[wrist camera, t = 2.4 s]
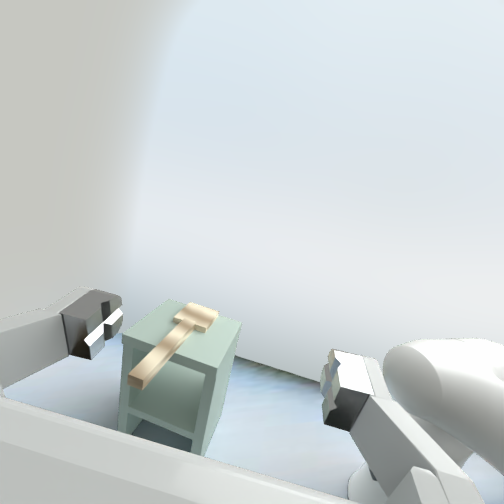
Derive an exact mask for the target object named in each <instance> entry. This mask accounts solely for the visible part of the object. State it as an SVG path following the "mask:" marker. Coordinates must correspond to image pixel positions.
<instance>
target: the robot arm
mask: <svg viewBox="0 0 504 504" xmlns="http://www.w3.org/2000/svg"><path fill="white" fill-rule="evenodd" d="M121 305H122V300H121V297H120V296H118V295H115V294H111V293H107V292H104V291H100V290H97V289H92V288H89V287H85V286H82V287H78V288H77V289H75V290H73V291H72V292H70V293H69V294H67V295H66V296H64V297H63V298H61V299H59V300H58V301H56V302H55V303H53V304H52V305H50V306H49V307H47V308H45V309H44V310H43V309H36V310H33V311H29V312H26V313H21V314H17V315H14V316H10V317H6V318H2V319H0V504H485V503H484V501H483V500H482V498H481V496H480V494H479V492H478V490H477V488H476V486H475V484H474V482H473V481H472V480H471V479H470V478H469V477H468V476H467V475H466V474H465V473H464V471H463V470H462V469H461V468H462V467H463V465H464V464H465V462H466V461H467V460H468V458H469V457H470V456H471V455H472V454H473V453H476V454H477V455H478V456H480V457H481V458H482V459H484V460H485V461H486V462H487V463H489V464H490V465H491V466H492V467H494V468H495V469H496V470H497V471H499V472H500V473H501V474H502V475H503V476H504V345H501V344H498V343H495V342H491V341H488V340H484V339H478V338H474V339H473V338H466V339H464V338H463V339H460V338H458V339H418V340H414V341H410V342H407V343H404V344H401V345H398V346H396V347H394V348H392V349H391V350H390V351H389V352H388V353H387V354H386V356H385V359H384V363H383V375H382V373H381V370H380V367H379V364H378V362H377V360H376V359H375V358H370V357H366V356H359V355H356V354H352V353H348V352H344V351H339V350H335V349H331V351H330V352H329V355H328V362H329V363H328V364H326V365H325V366H324V368H323V370H322V375H321V380H320V388H321V394H322V395H323V397H324V398H325V399H324V401H323V404H322V411H323V421H324V424H325V425H329V426H332V427H335V428H338V429H342V430H345V431H348V432H350V435H351V437H352V439H353V440H354V442H355V444H356V445H357V447H358V449H359V450H360V452H361V454H362V455H363V457H364V459H365V460H366V462H365V464H364V465H363V466H362V467H361V468H360V469H359V470H357V471H356V472H354V473H353V474H352V476H351V477H350V479H349V483H348V498H349V500H347V499H344V498H340V497H337V496H334V495H330V494H327V493H324V492H320V491H317V490H314V489H310V488H307V487H303V486H300V485H297V484H293V483H290V482H287V481H283V480H280V479H277V478H273V477H270V476H267V475H263V474H260V473H256V472H253V471H250V470H246V469H243V468H240V467H236V466H233V465H230V464H226V463H223V462H220V461H216V460H213V459H209V458H206V457H203V456H199V455H196V454H193V453H189V452H186V451H183V450H179V449H176V448H173V447H169V446H166V445H163V444H159V443H156V442H153V441H149V440H146V439H143V438H139V437H136V436H132V435H129V434H126V433H122V432H119V431H116V430H112V429H109V428H106V427H102V426H99V425H96V424H92V423H89V422H86V421H82V420H79V419H75V418H72V417H69V416H65V415H62V414H59V413H55V412H52V411H49V410H45V409H42V408H39V407H35V406H32V405H29V404H25V403H22V402H18V401H15V400H12V399H8V398H6V397H5V395H4V392H3V389H4V388H6V387H8V386H10V385H12V384H14V383H16V382H18V381H20V380H22V379H24V378H26V377H28V376H30V375H32V374H34V373H36V372H38V371H40V370H42V369H44V368H46V367H48V366H50V365H52V364H54V363H56V362H58V361H60V360H62V359H64V358H66V357H68V356H69V355H72V356H77V357H81V358H85V359H89V360H92V359H93V358H94V357H95V356H96V355H97V354H98V353H99V352H100V351H101V350H102V348H103V347H104V346H105V341H106V340H109V339H111V338H113V337H114V336H115V335H116V334H117V333H118V331H119V329H120V327H121V325H122V321H123V314H122V312H121V311H120V310H119V307H120V306H121ZM383 377H384V378H383ZM389 393H390V394H391V396H392V398H393V399H394V400H395V401H392V399H391V396H390V394H389Z"/></svg>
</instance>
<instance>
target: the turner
mask: <svg viewBox="0 0 504 504" xmlns="http://www.w3.org/2000/svg"><path fill="white" fill-rule="evenodd" d="M218 314H219V311H216V310H213V309H210V308H207V307H204V306H200V305H197V304H194V303H191V302H190V303H189V304H187V305H186V306H185V307H184V308H183V309H182V310H181V311H180V312H179V313H178V314H176V315H175V316H174V318H173V322H174V323H177V324H178V325H177V326H176V327H175V328H174V329H173V330H172V331H171V332H170V333H169V334H168V335H167V336H166V337H165V338H164V339H163V340H162V341H161V342H160V343H159V344H158V345H157V346H156V347H155V348H154V349H153V350H152V351H151V352H150V353H149V354H148V355H147V356H146V357H145V358H144V359H143V360H142V361H141V362H140V363H139V364H138V365H137V366H136V367H135V368H134V369H133V370H132V371H131V372H130V373H129V374H128V379H127V385H130V386H132V387H135V388H137V389H140V390H143V389H144V388H145V387H146V386H147V384H148V383H149V382H150V381H151V380H152V379H153V377H154V376H155V375H156V374H157V373H158V372H159V370H160V369H161V368H162V367H163V366H164V365H165V363H166V362H167V361H168V360H169V359H170V358H171V356H172V355H173V354H174V353H175V352H176V351H177V349H178V348H179V347H180V346H181V345H182V344H183V342H184V341H185V340H186V339H187V338H188V336H189V335H190V334H191V333H192V332H193V331H194V330H197V331H200V332H203V333H206V332H207V330H208V329H209V328H210V326H211V325H212V324H213V322H214V321H215V320H216V318H217V317H218Z"/></svg>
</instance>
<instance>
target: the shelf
mask: <svg viewBox="0 0 504 504" xmlns="http://www.w3.org/2000/svg"><path fill="white" fill-rule="evenodd" d="M185 306H186V304H183V303H180V302H177V301H173V300H171V299H168V300H167V301H165V302H164V303H163V304H161V305H160V306H159V307H157V308H156V309H155V310H153V311H152V312H151V313H150V314H148V315H147V316H145V317H144V318H143V319H141V320H140V321H139V322H137V323H136V324H135V325H133V326H132V327H131V328H129V329H128V330H127V331H125V332H124V333H123V334H122V344H123V357H122V371H121V385H120V398H119V412H118V426H117V431H119V432H122V433H126V434H129V435H131V434H132V433H133V431H134V430H135V429H136V427H137V426H138V425H139V423H140V422H141V421H142V419H144V420H146V421H149V422H151V423H153V424H156V425H158V426H161V427H163V428H165V429H168V430H170V431H172V432H175V433H177V434H179V435H182V436H184V437H187V438H189V439H191V440H193V441H192V446H191V452H190V453H193V454H196V455H199V456H203V457H204V455H205V452H206V450H207V448H208V445H209V443H210V440H211V438H212V436H213V433H214V431H215V428H216V426H217V423H218V421H219V419H220V416H221V413H222V409H223V404H224V400H225V395H226V391H227V387H228V382H229V378H230V373H231V369H232V364H233V360H234V355H235V351H236V346H237V342H238V338H239V333H240V330H241V326H242V323H241V322H239V321H235V320H232V319H229V318H226V317H223V316H220V315H218V317H217V318H216V320H215V321H214V322H213V324H212V325H211V326H210V328H209V329H208V330H207V332H206V333H203V332H200V331H197V330H194V331H193V332H192V333H191V334H190V335H189V336H188V338H187V339H186V340H185V341H184V342H183V344H182V345H181V346H180V347H179V348H178V349H177V351H176V352H175V353H174V354H173V355H172V356H171V358H170V359H169V360H168V361H167V362H166V363H165V365H164V366H163V367H162V368H161V369H160V370H159V372H158V373H157V374H156V375H155V376H154V377H153V379H152V380H151V381H150V382H149V383H148V384H147V386H146V387H145V388H144V389H143V390H140V389H137V388H135V387H132V386H130V385H127V379H128V374H129V373H130V372H131V371H132V370H133V369H134V368H135V367H136V366H137V365H138V364H139V363H140V362H141V361H142V360H143V359H144V358H145V357H146V356H147V355H148V354H149V353H150V352H151V351H152V350H153V349H154V348H155V347H156V346H157V345H158V344H159V343H160V342H161V341H162V340H163V339H164V338H165V337H166V336H167V335H168V334H169V333H170V332H171V331H172V330H173V329H174V328H175V327H176V326H177V325H178V324H177V323H174V322H173V318H174V316H175V315H176V314H178V313H179V312H180V311H181V310H182V309H183V308H184V307H185Z"/></svg>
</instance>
